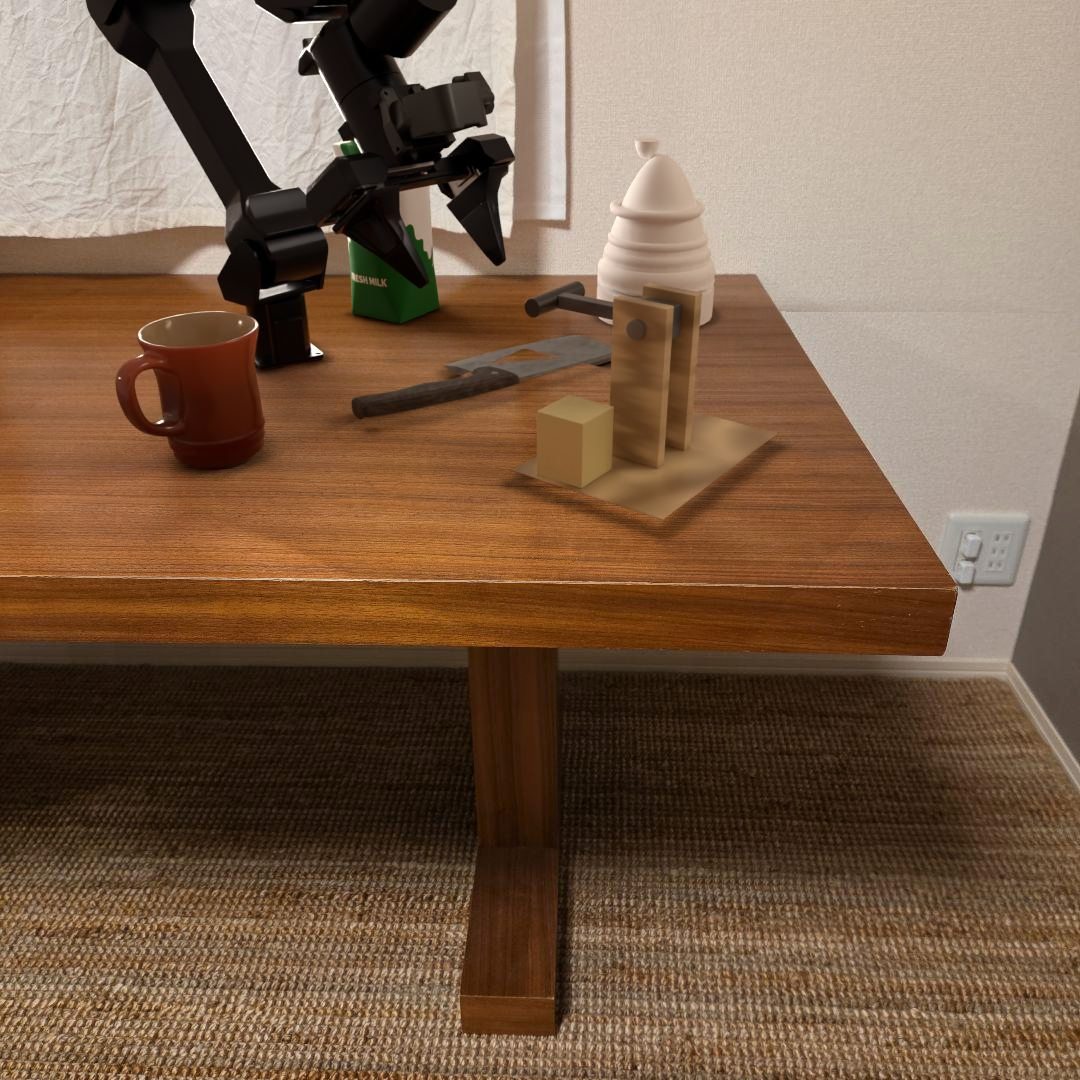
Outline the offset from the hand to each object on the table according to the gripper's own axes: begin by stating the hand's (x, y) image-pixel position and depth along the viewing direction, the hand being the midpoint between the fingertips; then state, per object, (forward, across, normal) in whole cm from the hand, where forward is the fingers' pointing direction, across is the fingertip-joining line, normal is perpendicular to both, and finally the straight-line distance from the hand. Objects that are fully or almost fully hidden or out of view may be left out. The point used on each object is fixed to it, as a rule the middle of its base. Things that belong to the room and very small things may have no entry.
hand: (464, 274), depth 80 cm
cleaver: (+7, +8, +11) cm, 15 cm away
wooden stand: (+20, +1, -7) cm, 21 cm away
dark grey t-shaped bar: (+9, +1, -9) cm, 13 cm away
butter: (+18, -5, -5) cm, 19 cm away
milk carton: (-6, +19, +29) cm, 35 cm away
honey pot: (+8, +35, +10) cm, 37 cm away
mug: (+4, -19, +16) cm, 25 cm away
